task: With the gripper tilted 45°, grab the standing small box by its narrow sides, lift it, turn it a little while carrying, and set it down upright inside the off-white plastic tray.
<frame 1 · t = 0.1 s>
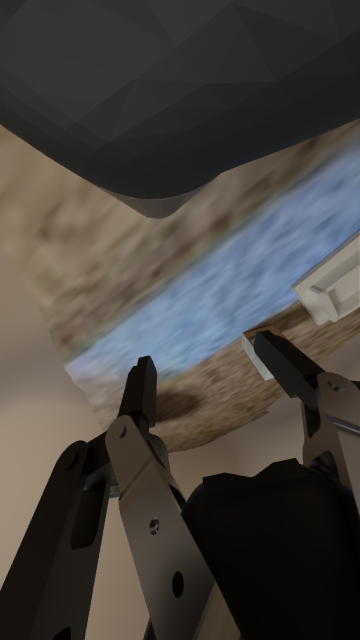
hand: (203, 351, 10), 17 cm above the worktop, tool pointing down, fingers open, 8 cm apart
off-white tray: (346, 277, 29), on the worktop
decorative bowl: (136, 418, 58), on the worktop
small box: (255, 335, 36), on the worktop
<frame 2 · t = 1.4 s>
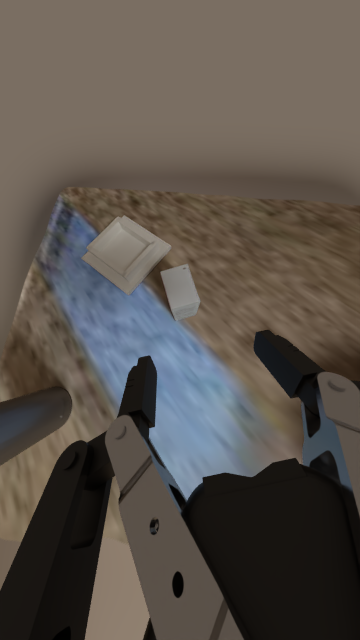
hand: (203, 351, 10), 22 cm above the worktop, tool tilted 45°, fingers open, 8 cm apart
off-white tray: (127, 254, 38), on the worktop
small box: (181, 304, 34), on the worktop
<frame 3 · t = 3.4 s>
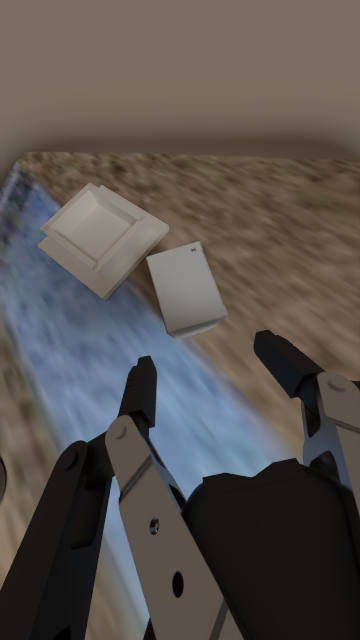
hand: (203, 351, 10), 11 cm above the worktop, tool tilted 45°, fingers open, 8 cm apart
off-white tray: (105, 240, 26), on the worktop
small box: (185, 313, 22), on the worktop
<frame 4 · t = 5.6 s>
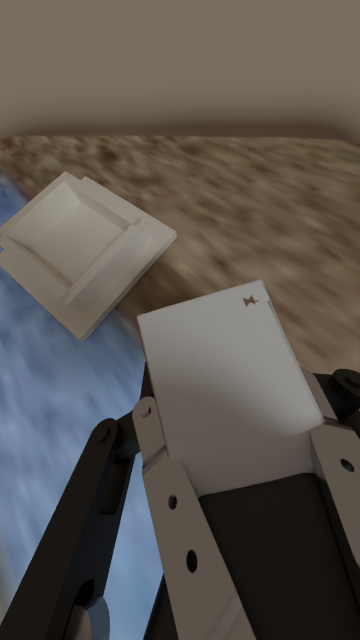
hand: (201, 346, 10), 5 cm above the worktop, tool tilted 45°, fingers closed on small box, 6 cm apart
off-white tray: (88, 250, 19), on the worktop
small box: (201, 362, 15), on the worktop, touching gripper
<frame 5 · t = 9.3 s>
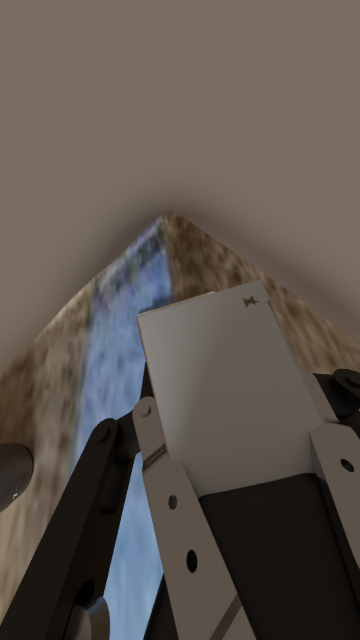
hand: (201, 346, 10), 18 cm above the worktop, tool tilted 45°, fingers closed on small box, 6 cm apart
small box: (201, 362, 15), point 13 cm above the worktop, touching gripper
when the fingers open (7 cm above the worktop, at t = 12.8 s): small box drops 1 cm, resting on off-white tray.
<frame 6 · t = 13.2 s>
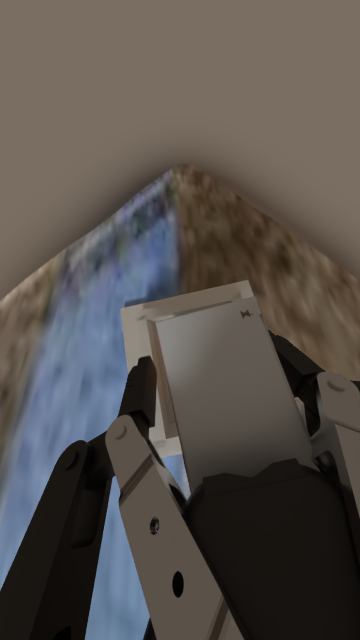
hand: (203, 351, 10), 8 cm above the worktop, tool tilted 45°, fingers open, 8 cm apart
off-white tray: (198, 360, 17), on the worktop
small box: (202, 361, 16), point 1 cm above the worktop, touching off-white tray
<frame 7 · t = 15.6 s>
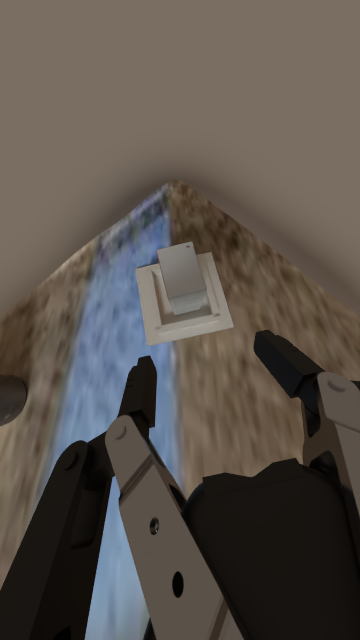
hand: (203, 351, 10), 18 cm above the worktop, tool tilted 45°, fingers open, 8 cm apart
off-white tray: (181, 297, 30), on the worktop
small box: (182, 296, 29), point 1 cm above the worktop, touching off-white tray
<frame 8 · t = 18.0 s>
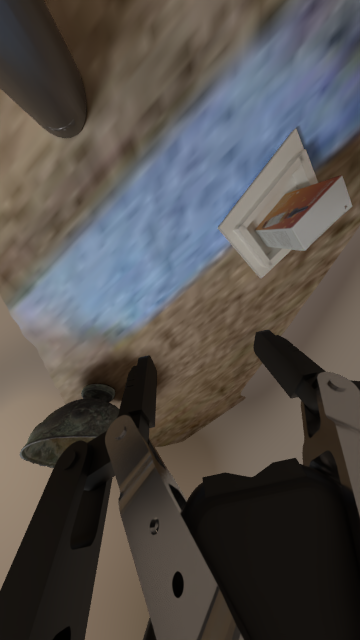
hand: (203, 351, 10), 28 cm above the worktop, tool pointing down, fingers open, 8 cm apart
off-white tray: (271, 221, 30), on the worktop
decorative bowl: (100, 391, 57), on the worktop
small box: (273, 222, 30), point 1 cm above the worktop, touching off-white tray
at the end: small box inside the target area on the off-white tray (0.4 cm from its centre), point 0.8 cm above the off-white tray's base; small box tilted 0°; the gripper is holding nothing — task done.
